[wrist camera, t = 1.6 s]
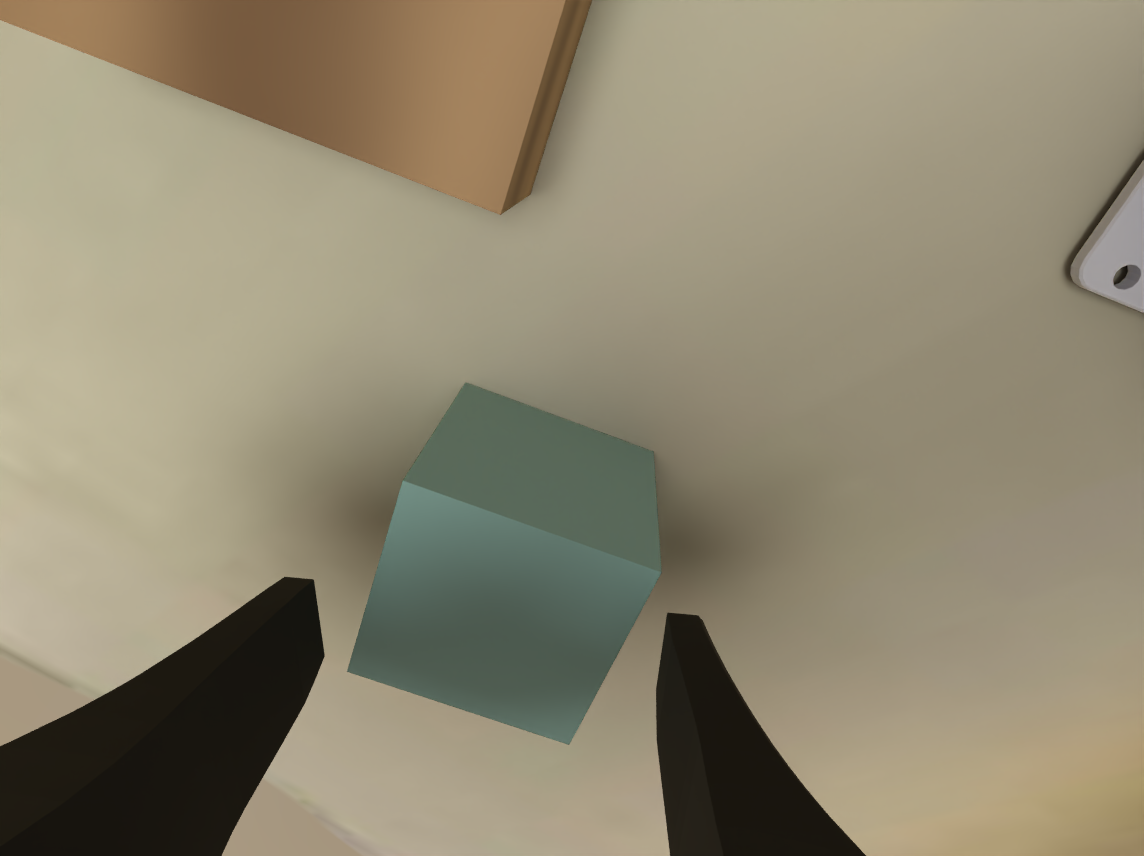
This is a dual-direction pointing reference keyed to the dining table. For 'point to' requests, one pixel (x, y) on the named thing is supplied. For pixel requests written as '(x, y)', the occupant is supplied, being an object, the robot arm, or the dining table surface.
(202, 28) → the walnut block
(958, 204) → the dining table surface
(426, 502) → the teal cube
